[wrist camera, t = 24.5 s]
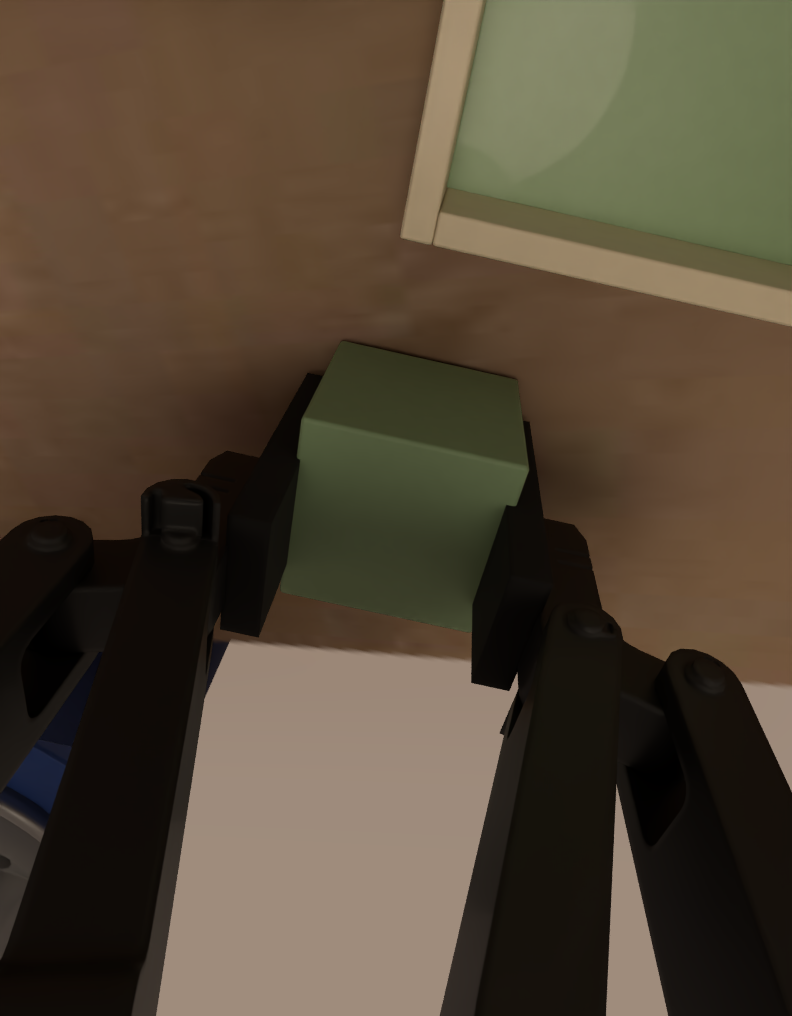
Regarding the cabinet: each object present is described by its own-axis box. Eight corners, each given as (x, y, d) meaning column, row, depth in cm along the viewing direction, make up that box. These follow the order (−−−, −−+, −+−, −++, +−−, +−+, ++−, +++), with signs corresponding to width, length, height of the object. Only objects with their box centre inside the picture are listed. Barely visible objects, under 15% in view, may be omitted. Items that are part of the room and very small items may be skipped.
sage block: (317, 490, 19) (278, 593, 15) (340, 339, 17) (300, 417, 13) (473, 524, 19) (472, 635, 15) (518, 378, 17) (531, 467, 13)
